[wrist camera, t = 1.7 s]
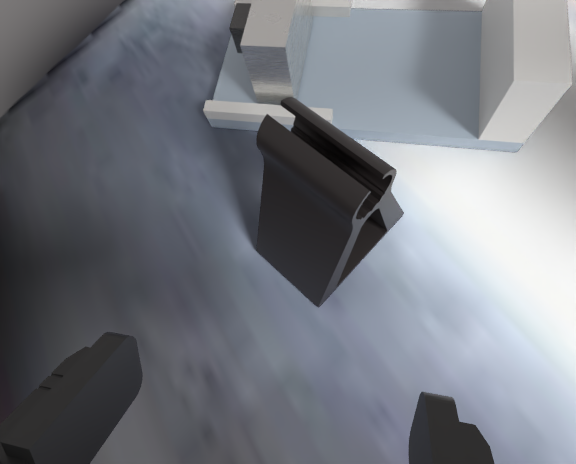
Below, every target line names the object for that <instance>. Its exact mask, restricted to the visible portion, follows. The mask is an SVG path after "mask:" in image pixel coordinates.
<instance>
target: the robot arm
mask: <svg viewBox="0 0 576 464" xmlns="http://www.w3.org/2000/svg"><path fill="white" fill-rule="evenodd" d="M141 384H142V369H141V364H140V358H139V353H138V347H137V342H136V339H135V338H134V337H133V336H129V335H123V334H118V333H113V332H107V333H105V334H103V335H102V336H101V337H100V338H99V339H98V340H97V341H96V342H95V343H94V345H93V346H92V347H91V348H89V347H84V348H83V349H81V350H79V351H78V352H76V353H74V354H73V355H71V356H70V357H68V358H66V359H65V360H64V361H63V362H62V363H61V364H60V365H59V366H58V367H57V368H56V369H55V370H54V371H53V372H52V375H51V376H48V377H47V378H46V379H45V380H44V381H43V382H42V383H41V384H40V385H39V388H38V389H35V390H34V391H33V392H32V393H31V394H30V395H29V396H28V397H27V398H26V399H25V400H24V401H23V402H22V403H21V404H20V405H19V406H18V407H17V408H16V409H15V410H14V411H13V412H12V413H11V414H10V415H9V416H8V417H7V418H6V419H5V420H4V421H3V422H2V423H1V424H0V464H90V462H91V461H92V460H93V458H94V457H95V455H96V454H97V452H98V451H99V449H100V448H101V447H102V445H103V444H104V442H105V441H106V439H107V438H108V436H109V435H110V434H111V432H112V431H113V429H114V428H115V426H116V425H117V424H118V422H119V421H120V419H121V418H122V416H123V415H124V413H125V412H126V411H127V409H128V408H129V406H130V405H131V403H132V402H133V400H134V399H135V398H136V396H137V394H138V392H139V390H140V387H141ZM409 464H494V460H493V457H492V453H491V449H490V446H489V445H488V443H487V442H486V440H485V439H484V437H483V436H482V434H481V433H480V431H479V430H478V428H477V427H476V425H473V424H468V423H463V422H459V419H458V414H457V409H456V405H455V401H454V399H453V398H452V397H448V396H442V395H437V394H432V393H426V392H421V394H420V396H419V400H418V404H417V408H416V412H415V415H414V419H413V423H412V427H411V431H410V438H409Z"/></svg>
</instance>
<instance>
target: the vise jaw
mask: <svg viewBox="0 0 576 464" xmlns="http://www.w3.org/2000/svg"><path fill="white" fill-rule="evenodd" d="M312 23H313V7H312V0H252V3H237V4H236V7H235V11H234V14H233V17H232V21H231V24H230V31H231V34H232V37H233V40H234V43H235V46H236V50H237V53H243V56H244V60H245V63H246V66H247V69H248V73H249V76H250V79H251V82H252V86H253V89H254V92H255V95H256V99H257V102H258V104H271V105H281V100H283V99H285V98H288V97H293V98H295V99H297V97H298V92H299V87H300V82H301V77H302V73H303V68H304V63H305V58H306V53H307V48H308V43H309V38H310V33H311V28H312Z"/></svg>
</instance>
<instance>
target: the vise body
mask: <svg viewBox="0 0 576 464" xmlns="http://www.w3.org/2000/svg"><path fill="white" fill-rule="evenodd" d="M237 3H252V0H235V2H234V6H235V7H236V4H237ZM312 7H313V23H312V28H311V33H310V38H309V43H308V48H307V53H306V58H305V63H304V68H303V73H302V77H301V82H300V87H299V92H298V97H297V100H298V101H300V102H301V103H303V104H304V105H305V106H307V107H308V108H310V109H311V110H312V111H314V112H315V113H317V114H318V115H319V116H321V117H322V118H324V119H325V120H327V121H328V122H329V123H331V124H332V125H334V126H335V127H336V128H338V129H339V130H341V131H342V132H343V133H345V134H346V135H348V136H349V137H351V138H352V139H362V140H374V141H386V142H398V143H410V144H423V145H435V146H447V147H459V148H471V149H483V150H495V151H508V152H517V151H518V150H519V149H520V148H521V146H522V145H523V144H524V143H525V142H526V140H527V139H528V138H529V137H530V135H531V134H532V133H533V132H534V130H535V129H536V128H537V127H538V126H539V124H540V123H541V122H542V121H543V119H544V118H545V117H546V116H547V115H548V113H549V112H550V111H551V110H552V108H553V107H554V106H555V105H556V103H557V102H558V101H559V100H560V99H561V97H562V96H563V95H564V94H565V92H566V91H567V90H568V89H569V88H570V86H571V85H572V84H573V83H572V67H571V52H570V36H569V20H568V4H567V0H486V2H485V5H484V7H483V10H482V11H442V10H400V9H357V8H351V0H312ZM203 111H204V113H205V115H206V117H207V119H208V121H209V123H210V125H211V126H212V127H216V128H228V129H240V130H253V131H258V130H259V127H260V125H261V123H262V121H263V119H264V117H265V116H266V114H268V115H269V116H271V117H272V118H273V119H275V120H276V121H277V122H279V123H280V124H281V125H283V126H284V127H285V128H287V129H288V130H289V131H291V128H292V127H293V123H294V120H295V116H294V115H293V114H292V113H290V112H289V111H287V110H286V109H285V108H283V107H282V106H281V105H271V104H258V102H257V99H256V95H255V92H254V89H253V86H252V82H251V79H250V76H249V73H248V69H247V66H246V63H245V60H244V56H243V53H237V50H236V46H235V43H234V40H233V37H232V34H231V36H230V40H229V43H228V47H227V51H226V54H225V58H224V61H223V65H222V68H221V72H220V75H219V79H218V82H217V86H216V89H215V93H214V96H213V100H206V102H205V106H204V109H203Z"/></svg>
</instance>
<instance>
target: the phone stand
mask: <svg viewBox="0 0 576 464" xmlns="http://www.w3.org/2000/svg"><path fill="white" fill-rule="evenodd" d="M281 106H282V107H283V108H285V109H286V110H287V111H289V112H290V113H292V114H293V115H294V116H295V120H294V123H293V127H292V128H291V131H289V130H288V129H287V128H285V127H284V126H283V125H281V124H280V123H279V122H277V121H276V120H275V119H273V118H272V117H271V116H269V115H268V114H266V116H265V117H264V119H263V121H262V123H261V125H260V127H259V130H258V133H257V146H258V148H259V150H260V151H261V153H262V155H263V158H264V174H263V185H262V196H261V207H260V218H259V229H258V240H257V252H258V253H260V254H261V255H262V256H263V257H264V258H265V259H266V260H267V261H268V262H269V263H270V264H271V265H273V266H274V267H275V268H276V269H277V270H278V271H279V272H280V273H281V274H282V275H283V276H284V277H286V278H287V279H288V280H289V281H290V282H291V283H292V284H293V285H294V286H295V287H296V288H297V289H299V290H300V291H301V292H302V293H303V294H304V295H305V296H306V297H307V298H308V299H309V300H311V301H312V302H313V303H314V304H315V305H316V306H317V307H320V306H321V305H322V304H323V303H324V302H325V300H326V299H327V298H328V297H329V296H330V295H331V294H332V293H333V292H334V291H335V289H336V288H337V287H338V286H339V285H340V284H341V283H342V282H343V281H344V280H345V278H346V277H347V276H348V275H349V274H350V273H351V272H352V271H353V270H354V269H355V267H356V266H357V265H358V264H359V263H360V262H361V260H362V259H364V258H365V256H366V255H367V254H368V253H369V252H370V251H371V250H372V249H373V248H374V247H375V245H376V244H377V243H378V242H379V241H380V240H381V239H382V238H383V237H384V236H385V234H386V233H387V232H388V231H389V230H390V229H391V228H392V227H393V226H394V225H395V223H396V222H397V221H398V220H399V219H400V218H401V217H402V215H403V214H404V212H403V211H402V209H401V208H400V206H399V204H398V203H397V201H396V199H395V198H394V196H393V194H392V193H391V187H392V183H393V181H394V178H395V176H396V169H394V168H393V167H391V166H390V165H389V164H387V163H386V162H384V161H383V160H382V159H380V158H379V157H377V156H376V155H375V154H373V153H372V152H370V151H369V150H367V149H366V148H365V147H363V146H362V145H360V144H359V143H358V142H356V141H355V140H353V139H352V138H351V137H349V136H348V135H346V134H345V133H343V132H342V131H341V130H339V129H338V128H336V127H335V126H334V125H332V124H331V123H329V122H328V121H327V120H325V119H324V118H322V117H321V116H319V115H318V114H317V113H315V112H314V111H312V110H311V109H310V108H308V107H307V106H305V105H304V104H303V103H301V102H300V101H298V100H297V99H295V98H293V97H288V98H285V99H283V100H281Z"/></svg>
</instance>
